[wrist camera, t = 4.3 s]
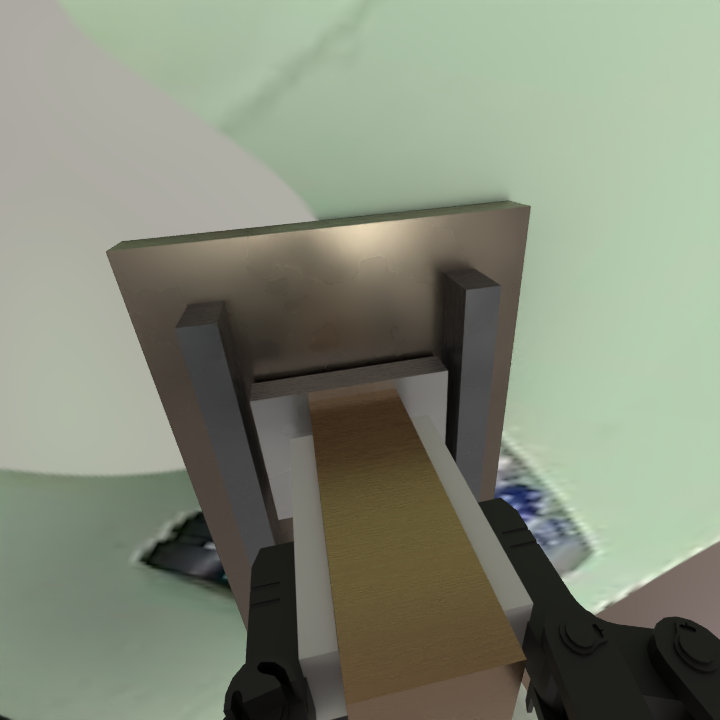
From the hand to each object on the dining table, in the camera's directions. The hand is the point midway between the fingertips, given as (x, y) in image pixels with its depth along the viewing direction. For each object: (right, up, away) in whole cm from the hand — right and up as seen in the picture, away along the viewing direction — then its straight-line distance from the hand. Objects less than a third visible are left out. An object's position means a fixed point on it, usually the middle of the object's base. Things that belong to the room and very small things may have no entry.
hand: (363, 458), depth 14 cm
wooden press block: (0, 0, +3) cm, 3 cm away
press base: (0, -2, +6) cm, 7 cm away
